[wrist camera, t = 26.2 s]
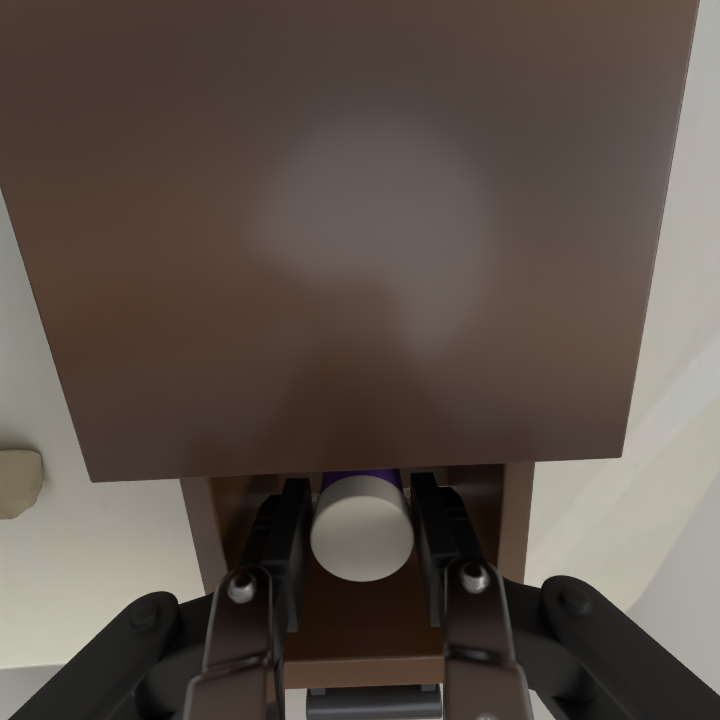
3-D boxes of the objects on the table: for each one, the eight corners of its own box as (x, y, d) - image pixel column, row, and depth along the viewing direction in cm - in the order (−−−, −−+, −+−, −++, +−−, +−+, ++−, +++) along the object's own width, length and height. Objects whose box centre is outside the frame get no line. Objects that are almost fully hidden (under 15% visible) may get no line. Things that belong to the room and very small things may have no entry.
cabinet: (486, 347, 17) (622, 459, 8) (228, 361, 17) (90, 483, 8) (504, -38, 13) (812, -639, 4) (166, -15, 13) (-228, -545, 4)
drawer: (468, 603, 20) (527, 796, 13) (274, 612, 20) (229, 806, 13) (483, 248, 15) (595, 250, 8) (218, 262, 15) (92, 278, 8)
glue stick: (397, 472, 16) (415, 581, 11) (328, 475, 16) (314, 585, 11) (395, 409, 15) (414, 494, 10) (323, 413, 16) (304, 499, 10)
